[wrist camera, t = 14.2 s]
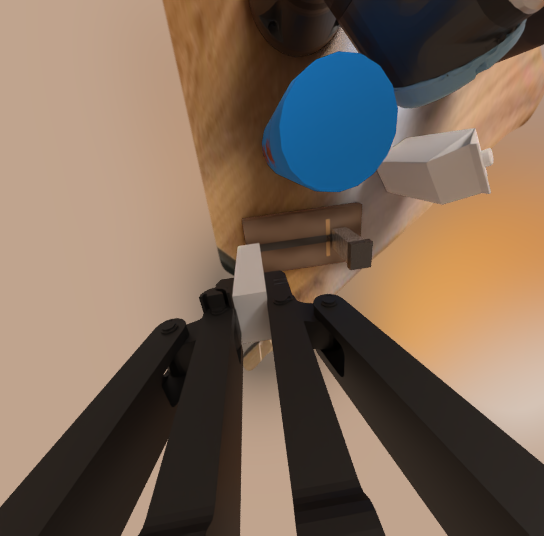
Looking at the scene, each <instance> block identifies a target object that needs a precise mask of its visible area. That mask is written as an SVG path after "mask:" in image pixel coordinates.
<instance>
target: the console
mask: <svg viewBox="0 0 544 536" xmlns="http://www.w3.org/2000/svg"><path fill="white" fill-rule="evenodd" d="M361 217H362V204H360V203H357V202H355V203H348V204H341V205H334V206H327V207H320V208H313V209H306V210H299V211H292V212H285V213H278V214H271V215H263V216H256V217H249V218H242V224H243V230H244V236H245V241H246V245H249V244H256V243H259V245H260V252H261V258H262V265H263V271H264V273H265V272H271V271H278V270H281V271H286V270H293V269H300V268H306V267H313V266H320V265H326V264H333V263H339V262H346V261H345V260H344V259H343V258H342V257H341V256H340V255H339V254H338V253H337V252H336V251H335V250H334V249H333V248H332V229H336V228H343V227H347V228H349V229H350V230H351V231H353V232H354V233H356V234H357V235H359V236H360V237H361Z"/></svg>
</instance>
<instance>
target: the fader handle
mask: <svg viewBox="0 0 544 536" xmlns="http://www.w3.org/2000/svg"><path fill="white" fill-rule="evenodd" d="M372 246H373V241H371V240H370V239H363V238H362V237H360V236H359V235H357V234H356V233H354V232H353V231H351V230H350V229H349V228H347V227H343V228H336V229H332V248H333V249H334V250H335V251H336V252H337V253H338V254H339V255H340V256H341V257H342V258H343V259H344V260H345V261H346V262H347V267H348V268H349V269H350V270H355V269H361V268H368V267H371V260H372Z"/></svg>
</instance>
